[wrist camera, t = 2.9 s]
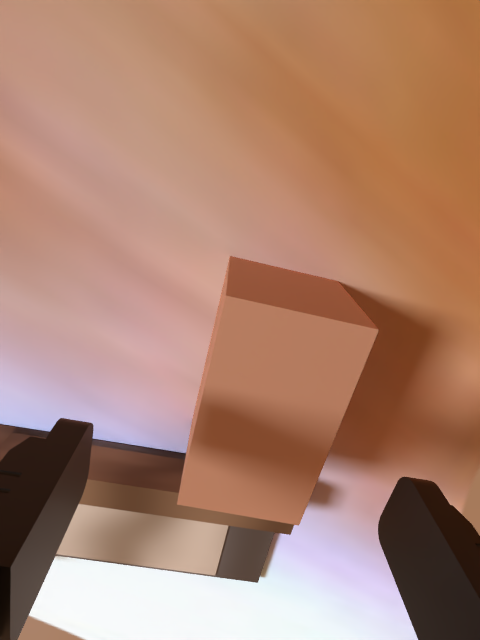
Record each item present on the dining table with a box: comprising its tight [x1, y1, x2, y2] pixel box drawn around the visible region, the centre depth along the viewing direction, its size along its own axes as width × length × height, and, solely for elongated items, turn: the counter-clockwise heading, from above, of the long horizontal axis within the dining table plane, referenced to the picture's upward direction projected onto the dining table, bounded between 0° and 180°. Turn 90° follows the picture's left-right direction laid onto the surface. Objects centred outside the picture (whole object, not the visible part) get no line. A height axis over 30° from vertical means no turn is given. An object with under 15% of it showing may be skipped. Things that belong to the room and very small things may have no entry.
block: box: [177, 256, 379, 525], centre depth 14 cm, size 4×8×5 cm, turn 167°
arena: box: [0, 425, 294, 583], centre depth 19 cm, size 15×8×2 cm, turn 78°
